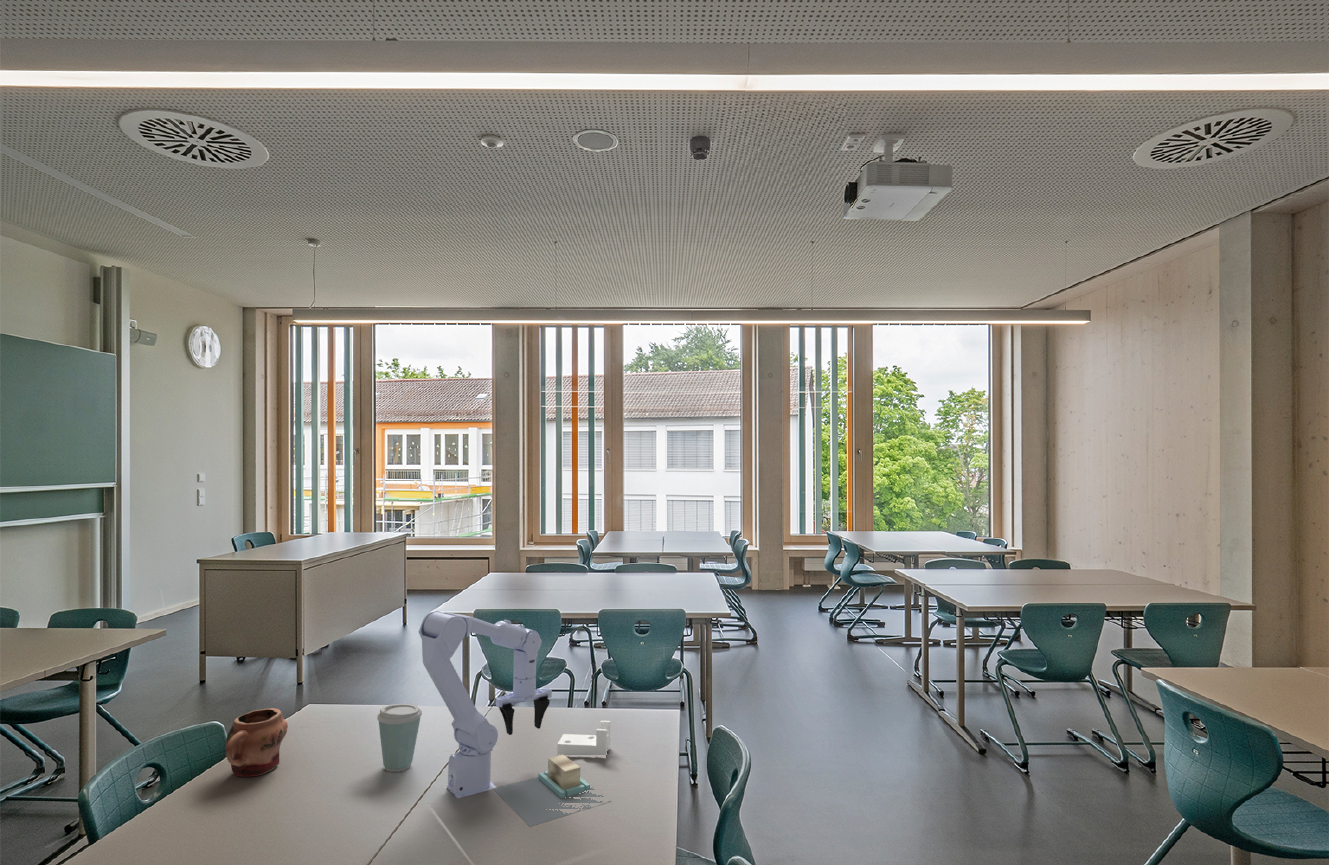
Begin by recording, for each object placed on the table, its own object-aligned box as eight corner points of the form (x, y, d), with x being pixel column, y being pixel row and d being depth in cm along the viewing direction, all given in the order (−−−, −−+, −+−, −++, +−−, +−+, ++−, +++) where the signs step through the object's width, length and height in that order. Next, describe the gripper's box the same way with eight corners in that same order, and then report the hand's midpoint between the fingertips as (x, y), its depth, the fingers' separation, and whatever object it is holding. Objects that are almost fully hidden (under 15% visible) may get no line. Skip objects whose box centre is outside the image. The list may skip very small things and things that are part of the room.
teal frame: (561, 798, 160) (561, 792, 160) (538, 778, 170) (538, 773, 170) (590, 789, 164) (590, 784, 164) (566, 770, 174) (566, 765, 174)
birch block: (548, 778, 169) (548, 758, 170) (562, 775, 172) (563, 754, 172) (564, 793, 162) (565, 771, 162) (580, 788, 164) (580, 767, 165)
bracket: (609, 749, 190) (610, 720, 191) (605, 759, 183) (606, 730, 184) (563, 747, 191) (563, 719, 192) (557, 757, 184) (557, 728, 185)
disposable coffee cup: (406, 755, 184) (408, 697, 185) (429, 766, 178) (430, 706, 178) (367, 768, 176) (369, 707, 177) (390, 780, 169) (391, 717, 170)
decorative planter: (256, 790, 163) (258, 730, 164) (202, 791, 163) (205, 730, 163) (297, 756, 183) (299, 702, 184) (250, 756, 183) (252, 702, 183)
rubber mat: (529, 829, 147) (529, 826, 147) (492, 791, 164) (493, 788, 164) (611, 804, 158) (611, 801, 158) (569, 770, 175) (569, 768, 176)
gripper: (503, 685, 171) (502, 741, 170) (557, 675, 179) (556, 729, 178) (493, 677, 177) (491, 732, 176) (545, 668, 185) (544, 721, 184)
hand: (523, 730), depth 177 cm, fingers open, 7 cm apart
